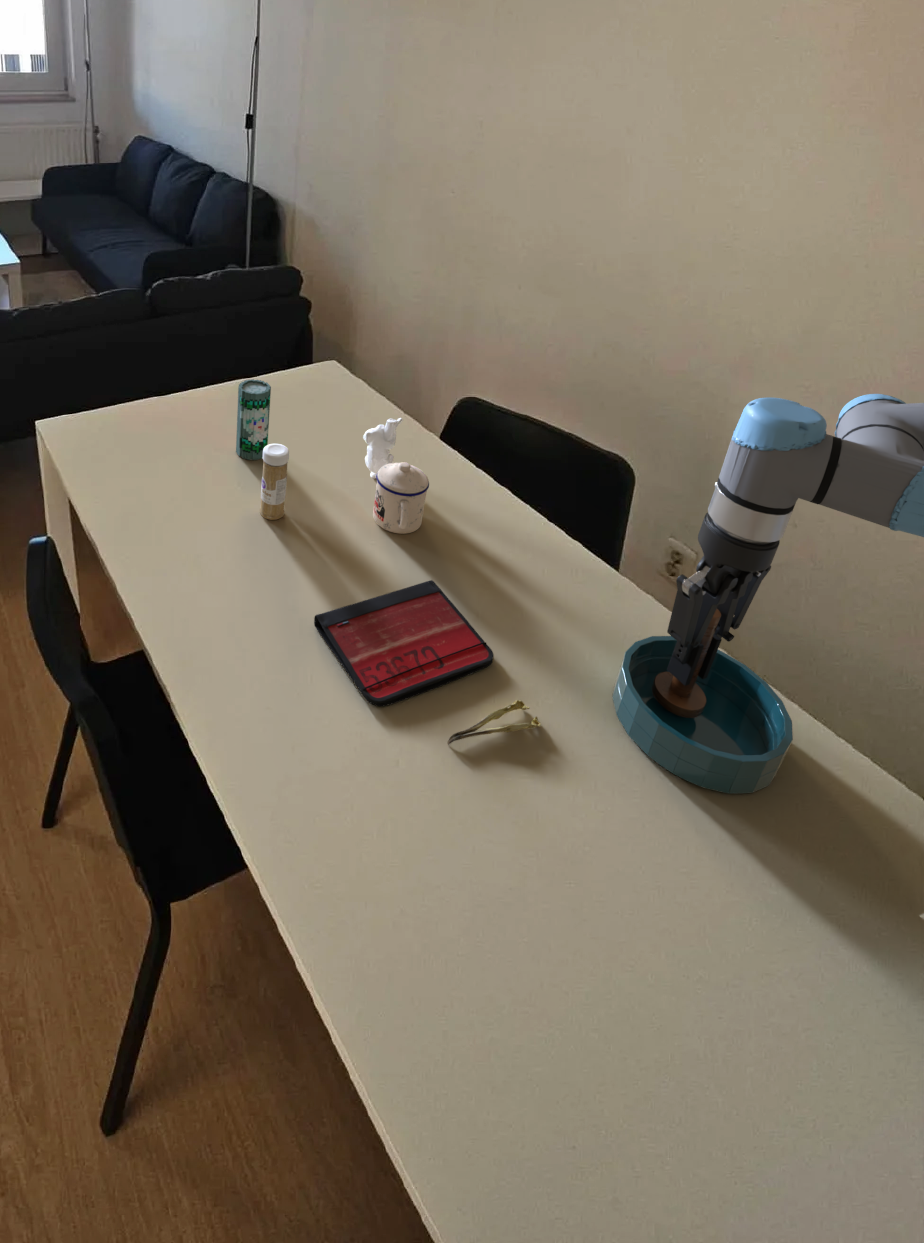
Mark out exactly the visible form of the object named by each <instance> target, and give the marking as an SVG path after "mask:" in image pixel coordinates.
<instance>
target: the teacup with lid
mask: <svg viewBox="0 0 924 1243" xmlns="http://www.w3.org/2000/svg"><path fill="white" fill-rule="evenodd" d="M375 479H376V487H375V495H374V503H373V509H372V510H373V511H372V517H373V520H374V522H375V523H376V524H377V525H378V526H379V527H380V528H382V529H383V530H385V531H387V532H390V533H394V534H401V535H403V534H404V535H405V534H410V533H413V532H415V531H417V530H418V529H419V528H421V526H422V522H423V516H424V511H425V504H426V498H427V491H428V489H429V488H430V480H429V477H428V476H427V474H426V473H425V472H424V471H423V470H422V469H420V468H419V467H417V466H415V465H412V464H410V463H408V462H407V461H400V462H392V463H390V464H387V465H384V466H383V467H381V468H380V469H379V471H378V473H377V476H376V478H375Z"/></svg>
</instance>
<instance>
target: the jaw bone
mask: <svg viewBox="0 0 924 1243" xmlns="http://www.w3.org/2000/svg"><path fill="white" fill-rule="evenodd" d="M530 709H531V707H530V706H527V705H526V704H525V702H524V701H523V700H521V699H516V700H514V701H513V702H512V703H511V704H508V705H506V706H504V707H501V708H499V709H496V710H494V711H493V712H491V713H489V714H488V715H487V716H485V717H483V718H482V719H481V720H480V721H479V722H477V723H476V724H473V726H471V727H468V728H467V729H464V730H462V731H458V732H455V733H453V734H452V735H450V737H449V738H448V740H447V746H450V744H452V743H454V742H456V741H459V740H464V739H468V738H471V737H478V736H484V735H491V734H497V733H511V732H517V731H521V730H529V729H536V728H539V727H541V726H542V723H541V722H540V721H539V719H538V716H534V718H533V719H532V720H531V723H530V722H523V723H512V724H507V725H505V726H501V727H493V728H483V729H481V728H482V727H484V726H485V725H487V723H490V722H492V721H494V720H498V719H499V720H500V718H502V717H503V716H504V715H505V714H507V713H509V712H512V711H517V710H522V711H526V710H530Z"/></svg>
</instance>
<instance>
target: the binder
mask: <svg viewBox="0 0 924 1243" xmlns="http://www.w3.org/2000/svg"><path fill="white" fill-rule="evenodd" d="M313 624H314V626H313V627H315V629H316V630H317V632H318V633H319V635H320V636H321V637H322V639H323V640H324V642H325V644H327V645H328V647H329V649H330V650H331V652H332V653H333V655H334V656H335V657H336V659H337V660H338V661H339V663H340V664H341V666H342V667H343V669H344V670H345V672H346V673H347V674H348V676H349V677H350V679H351V680H352V681H353V683H354V684H355V685H356V687H357V688H358V690H359V691H360V693H361V694H362V695H363V696H364V698H365V699H366V701H367V702H369V703H370V704H372V706H373V705H374V706H376V707H387V706H390V705H393V704H396V703H398V702H401V701H404V700H408V699H410V698H413V697H416V696H418V695H421V694H423V693H427V692H429V691H431V690H435V689H438V688H440V687H442V686H445V685H448V684H451V683H453V682H455V681H458V680H461V679H462V678H464V677H467V676H470V675H472V674H474V673H477V672H479V671H482V670H484V669H485V668H488V667H490V666H491V665H492V663H493V662H494V652H493V650H492V649H491V647H490V646H489V645H488V644H487V641H485V640H484V639H483V637H481V634H479V633H478V632H477V630H476V629H475V628H474V627H473V626H472V625H471V623H470V622H469V620H467V619H466V617H465V616H464V615H463V614H462V613H461V612H460V610H459V609H458V608H457V606H455V604H454V603H453V602H452V601H451V600H450V599H449V597H448V596H447V595H446V594H445V593H444V592H443V590H442V589H441V588H440V587H439V586H438V585H437V583H436V582H435V581H434V580H433V579H431V580H430V579H429V580H427V581H424V582H420V583H417V584H414V585H411V586H408V587H405V588H401V589H397V590H394V591H391V592H388V593H385V594H381V595H378V596H375V597H372V598H368V599H364V600H362V601H358V602H355V603H352V604H348V605H344V606H342V607H338V608H335V609H332V610H329V611H325V612H323V613H318V614H316V615H314V617H313Z"/></svg>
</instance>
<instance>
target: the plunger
mask: <svg viewBox="0 0 924 1243" xmlns="http://www.w3.org/2000/svg"><path fill="white" fill-rule="evenodd" d="M720 617H721V613H720V611H719V610H718V609H716V611H715V613H714V615H713V617H712V619H711V621H710V623H709V626H708V628H707V630H706V632H705V634H704V636H703V638H702V640H701V642H700V643H701V644H702V645H703V646H704V647H703V650H702V653H701V655H700V658H699V660H698V663H697V666H696V668H695V671H694V673H693V676H692V679H691V681H690V684H689V685H686V686H684V685H683V684H682V683H681V682H680V681H679V680H678V679H677V678H676V677H675V676H673V675H672V674H671V673H670V672H661V673H659V674H658V675H657V676H656V677H655V679H654V682H653V685H652V693H653V695H654V697H655V699H656V700H657V701H658V703H659V704H660V705H661V706H663V707H664V708H665V709H666V710H668V711H670V712H671V713H673V714H675V715H678V716H681V717H685V718H695V717H698V716H700V715H701V714H702V712H703V710H704V707H705V705H706V696H705V694H704V692H703V690H702V689H701V688H700V687H699V686H698V685H697V684H696V683H695V682H696V680H697V677H698V674H699V672H700V669H701V667H702V664H703V661H704V659H705V656H706V654H707V651H708V649H709V646H710V643H711V641H712V638H713V636H714V633H715V630H716V628H717V625H718V623H719V620H720Z"/></svg>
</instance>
